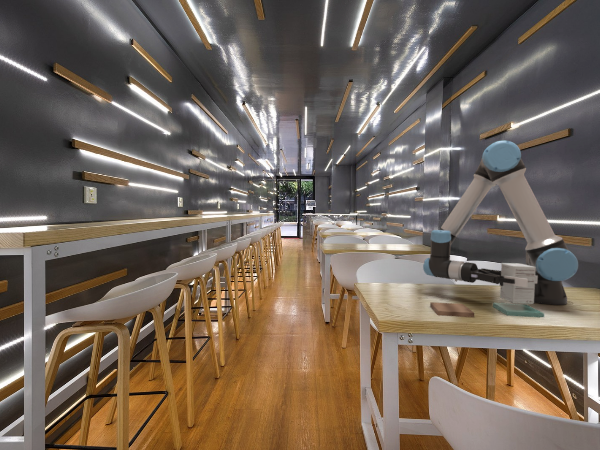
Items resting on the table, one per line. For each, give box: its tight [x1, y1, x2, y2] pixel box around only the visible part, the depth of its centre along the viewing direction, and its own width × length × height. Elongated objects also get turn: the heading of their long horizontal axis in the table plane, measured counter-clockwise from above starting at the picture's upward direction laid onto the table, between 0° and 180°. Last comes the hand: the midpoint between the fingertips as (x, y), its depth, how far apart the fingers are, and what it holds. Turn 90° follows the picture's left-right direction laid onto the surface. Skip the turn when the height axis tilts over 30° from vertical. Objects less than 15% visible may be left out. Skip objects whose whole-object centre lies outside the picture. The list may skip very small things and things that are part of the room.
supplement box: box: [499, 262, 536, 305], centre depth 111 cm, size 7×7×13 cm
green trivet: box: [492, 302, 545, 318], centre depth 111 cm, size 11×11×2 cm
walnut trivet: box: [429, 301, 475, 318], centre depth 110 cm, size 11×11×2 cm
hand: (532, 281), depth 108 cm, fingers closed on supplement box, 10 cm apart
